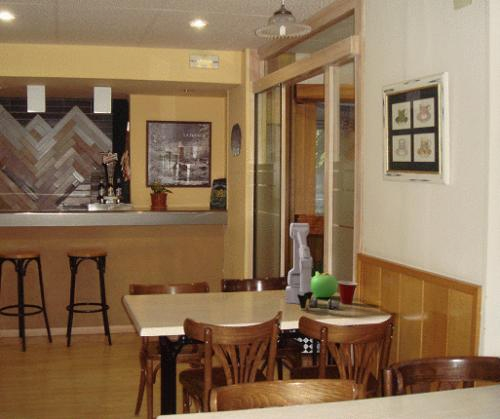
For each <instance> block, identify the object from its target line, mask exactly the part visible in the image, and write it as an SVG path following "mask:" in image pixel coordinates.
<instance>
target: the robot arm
mask: <svg viewBox="0 0 500 419" xmlns="http://www.w3.org/2000/svg"><path fill="white" fill-rule="evenodd" d="M309 233H310V224H309V222H303V223H302V222H291V223H290V225H289V237H290V238H291V239H292V241H293V247H292V248H293V251H292V252H293V253H292V254H293V257H292V258H293V261H292V263H293V264H292V265H293V266H292V268H291V269H290V270H288V273H287V286H286V287H285V301H284V302H285V303H286V304H297V305H298V304H299V306H300V309H301V308H303V309H305V307H306V301H307V298H309V304H310V300H311V298H312V297H313V296H314V295H313V290H311V277H312V270H313V268H314V260H313V257H312V255H311V251H310V250H311V249H310V247H309V246H308V245H307V237H308V235H309Z"/></svg>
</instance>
